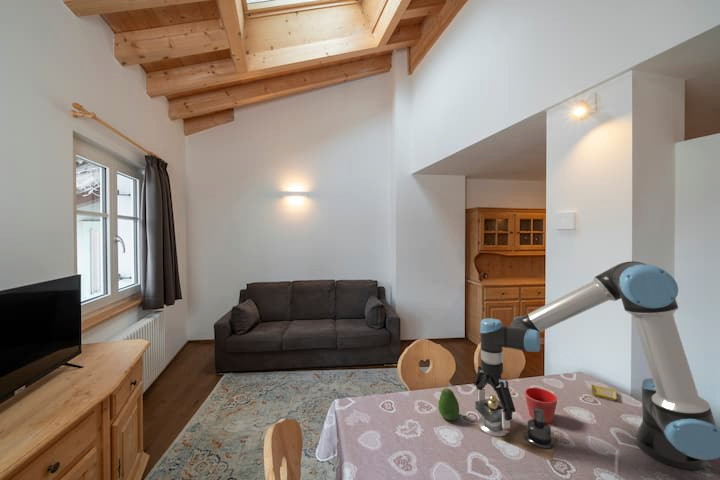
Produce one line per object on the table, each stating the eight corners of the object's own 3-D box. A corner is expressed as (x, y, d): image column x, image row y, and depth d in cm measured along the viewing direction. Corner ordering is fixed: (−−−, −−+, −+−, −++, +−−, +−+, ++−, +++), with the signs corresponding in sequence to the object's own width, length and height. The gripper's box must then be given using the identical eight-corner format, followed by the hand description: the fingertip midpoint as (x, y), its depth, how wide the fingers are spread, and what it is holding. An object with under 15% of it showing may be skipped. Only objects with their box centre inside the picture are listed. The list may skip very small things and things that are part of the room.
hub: (513, 425, 110) (512, 395, 110) (504, 441, 102) (504, 408, 102) (483, 414, 117) (482, 385, 117) (473, 428, 109) (472, 397, 109)
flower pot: (563, 429, 108) (562, 403, 108) (531, 426, 110) (530, 401, 110) (550, 411, 119) (550, 388, 119) (521, 409, 121) (520, 386, 121)
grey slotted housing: (512, 419, 106) (511, 411, 106) (490, 423, 104) (490, 415, 104) (495, 405, 115) (495, 397, 115) (475, 408, 113) (475, 401, 113)
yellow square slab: (616, 394, 130) (616, 390, 130) (616, 403, 123) (616, 398, 123) (591, 388, 135) (591, 384, 135) (591, 396, 129) (590, 392, 129)
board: (558, 439, 103) (558, 437, 103) (551, 463, 92) (551, 461, 92) (486, 412, 120) (486, 410, 120) (473, 430, 109) (473, 428, 109)
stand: (556, 438, 102) (555, 409, 102) (552, 453, 96) (551, 422, 96) (527, 427, 108) (527, 400, 108) (521, 440, 102) (521, 411, 102)
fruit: (442, 410, 122) (442, 382, 122) (461, 417, 117) (461, 387, 117) (436, 420, 115) (435, 391, 115) (455, 428, 111) (455, 397, 110)
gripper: (526, 374, 98) (527, 436, 98) (479, 347, 122) (481, 396, 122) (507, 377, 96) (508, 440, 96) (463, 349, 120) (465, 399, 121)
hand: (493, 416), depth 109 cm, fingers open, 13 cm apart
